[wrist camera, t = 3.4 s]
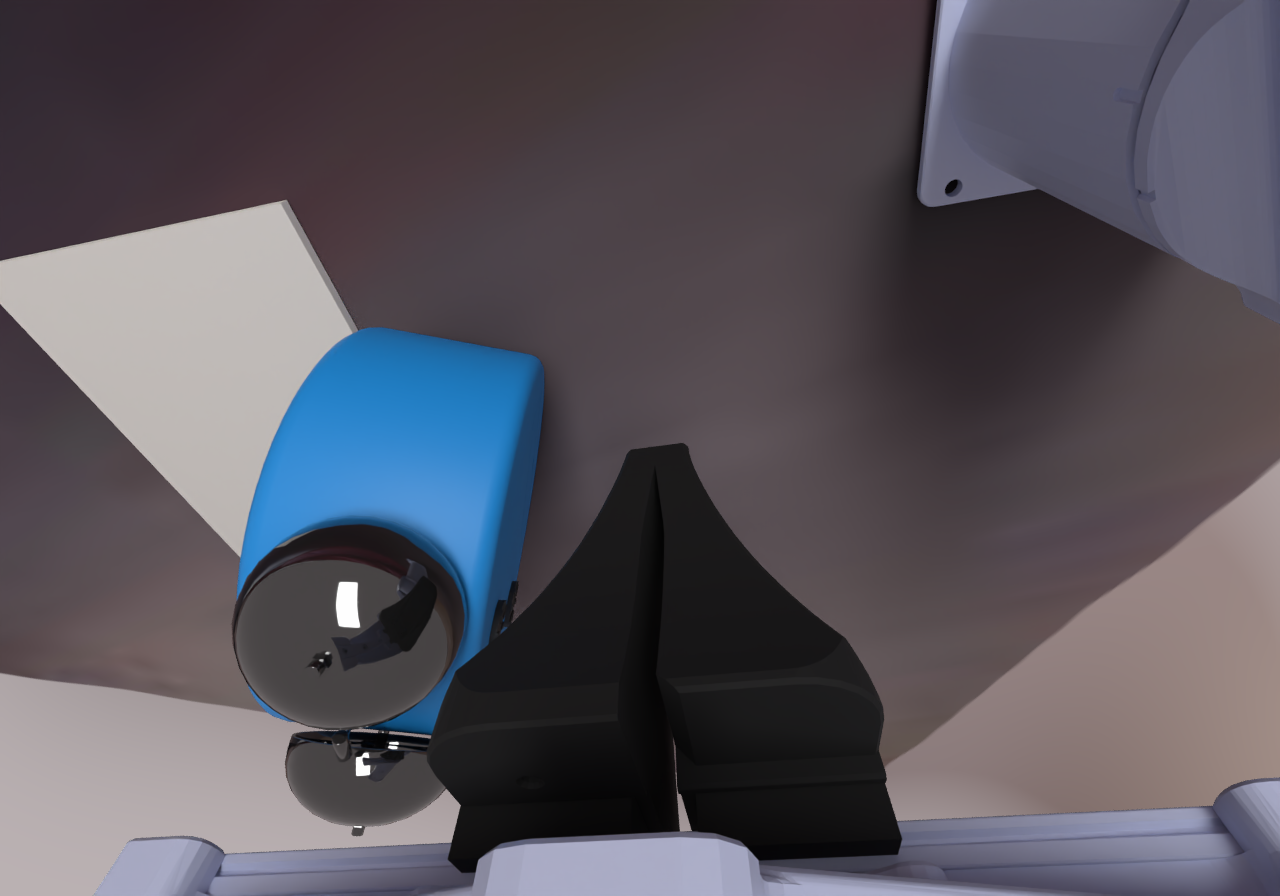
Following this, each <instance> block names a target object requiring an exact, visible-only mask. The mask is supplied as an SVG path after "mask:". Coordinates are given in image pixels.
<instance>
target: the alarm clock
mask: <svg viewBox="0 0 1280 896" xmlns="http://www.w3.org/2000/svg"><path fill="white" fill-rule="evenodd" d="M543 402H544V368H543V366H542V363H541V361H540V360H539V359H538V358H537V357H535V356H533V355H530V354H525V353H520V352H514V351H509V350H503V349H498V348H492V347H487V346H481V345H476V344H470V343H465V342H460V341H454V340H449V339H443V338H438V337H432V336H427V335H421V334H416V333H410V332H405V331H399V330H394V329H389V328H383V327H380V328H366V329H362V330H359V331H357V332H355V333H352V334H350V335H349V336H347V337H345V338H343V339H342V340H340V341H339V342H338V343H336V344H335V345H334V346H333V347H332V348H331V349H330V350H329V351H328V352H327V353H326V354H325V355H324V356H323V357H322V358H321V359H320V361H319V362H318V363H317V364H316V365H315V367H314V368H313V369H312V371H311V372H310V373H309V375H308V376H307V378H306V379H305V381H304V382H303V383H302V385H301V386H300V388H299V390H298V391H297V393H296V395H295V396H294V398H293V400H292V401H291V403H290V405H289V407H288V409H287V411H286V413H285V415H284V417H283V419H282V421H281V423H280V425H279V427H278V430H277V432H276V434H275V436H274V438H273V441H272V443H271V446H270V448H269V451H268V454H267V456H266V459H265V462H264V464H263V467H262V470H261V473H260V477H259V480H258V483H257V486H256V489H255V493H254V497H253V500H252V504H251V508H250V511H249V516H248V520H247V525H246V530H245V534H244V540H243V546H242V552H241V558H240V566H239V575H238V585H237V601H236V604H235V609H234V614H233V619H232V644H233V648H234V652H235V655H236V659H237V663H238V666H239V669H240V671H241V673H242V675H243V677H244V679H245V681H246V683H247V684H248V687H249V689H250V691H251V693H252V695H253V696H254V698H255V699H256V700H257V702H258V703H259V704H260V705H261V706H262V707H263V709H264V710H265V711H266V712H268V713H269V714H271V715H272V716H274V717H277V718H280V719H283V720H286V721H289V722H297V723H300V724H303V725H306V726H308V727H314V728H319V729H325V730H339V731H310V732H299V733H295V734H293V735H292V736H291V740H290V743H289V746H288V750H287V755H286V760H285V768H286V778H287V781H288V783H289V786H290V789H291V791H292V792H293V794H294V795H295V797H296V798H297V799H298V801H299V802H300V803H301V804H302V805H303V806H304V807H305V808H306V809H308V810H309V811H310V812H311V813H312V814H314V815H316V816H318V817H320V818H322V819H324V820H327V821H329V822H331V823H335V824H339V825H346V826H353V830H352V835H353V836H362V835H363V832H364V829H365V827H367V826H381V825H387V824H391V823H394V822H397V821H400V820H403V819H406V818H408V817H410V816H412V815H413V814H416V813H417V812H419V811H421V810H423V809H424V808H426V807H427V806H428V805H430V804H431V803H432V802H433V801H435V800H436V799H437V798H438V797H439V796H440V795H441V794H442V793H443V792H444V791H445V789H446V787H445V786H444V785H443V784H442V783H441V782H440V780H439V779H438V778H437V777H436V776H435V774H434V773H433V771H432V769H431V768H430V766H429V764H428V762H427V748H428V745H429V742H430V739H428V738H422V737H413V736H404V735H394V734H389V731H395V732H404V733H415V734H425V735H432V732H433V729H434V726H435V723H436V720H437V717H438V713H439V710H440V707H441V704H442V702H443V699H444V697H445V694H446V692H447V690H448V687H449V685H450V683H451V681H452V678H453V676H454V673H455V671H456V670H457V669H459V668H460V667H461V666H463V665H464V664H465V663H466V662H468V661H469V660H470V659H471V658H472V657H474V656H475V655H476V654H477V653H479V652H480V651H481V650H482V649H483V648H485V647H486V646H487V645H488V644H490V643H491V642H492V641H493V640H494V639H496V638H497V637H498V636H499V635H500V634H501V633H502V632H503V631H505V630H506V629H507V628H508V627H509V626H510V625H511V621H512V619H513V613H514V610H513V607H514V604H516V598H515V596H516V595H517V590H518V581H517V576H518V571H519V565H520V560H521V555H522V549H523V544H524V538H525V532H526V526H527V520H528V515H529V508H530V502H531V496H532V490H533V483H534V477H535V470H536V463H537V456H538V448H539V440H540V432H541V423H542V414H543ZM359 728H363V729H373V730H379V731H378V733H368V732H350V731H351V730H352V729H359ZM345 730H347V731H345Z"/></svg>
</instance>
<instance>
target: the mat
mask: <svg viewBox="0 0 1280 896" xmlns="http://www.w3.org/2000/svg"><path fill="white" fill-rule="evenodd" d="M0 304H1V305H2V306H3V307H4V308H5V309H6V310H7V312H8V313H9V314H10V315H11V316H12V317H13V318H14V319H15V320H16V321H17V322H18V323H19V324H20V325H21V326H22V327H23V328H24V329H25V331H26V332H27V333H28V334H29V335H30V336H31V337H32V338H33V339H34V340H35V341H36V342H37V343H38V344H39V345H40V346H41V347H42V348H43V350H44V351H45V352H46V353H47V354H48V355H49V356H50V357H51V358H52V359H53V360H54V361H55V362H56V363H57V364H58V365H59V366H60V368H61V369H62V370H63V371H64V372H65V373H66V374H67V375H68V376H69V377H70V378H71V379H72V380H73V381H74V382H75V383H76V384H77V385H78V387H79V388H80V389H81V390H82V391H83V392H84V393H85V394H86V395H87V396H88V397H89V398H90V399H91V400H92V401H93V402H94V403H95V404H96V406H97V407H98V408H99V409H100V410H101V411H102V412H103V413H104V414H105V415H106V416H107V417H108V418H109V419H110V420H111V421H112V422H113V423H114V425H115V426H116V427H117V428H118V429H119V430H120V431H121V432H122V433H123V434H124V435H125V436H126V437H127V438H128V439H129V440H130V441H131V442H132V444H133V445H134V446H135V447H136V448H137V449H138V450H139V451H140V452H141V453H142V454H143V455H144V456H145V457H146V458H147V459H148V460H149V462H150V463H151V464H152V465H153V466H154V467H155V468H156V469H157V470H158V471H159V472H160V473H161V474H162V475H163V476H164V477H165V478H166V479H167V481H168V482H169V483H170V484H171V485H172V486H173V487H174V488H175V489H176V490H177V491H178V492H179V493H180V494H181V495H182V496H183V497H184V498H185V500H186V501H187V502H188V503H189V504H190V505H191V506H192V507H193V508H194V509H195V510H196V511H197V512H198V513H199V514H200V515H201V516H202V517H203V519H204V520H205V521H206V522H207V523H208V524H209V525H210V526H211V527H212V528H213V529H214V530H215V531H216V532H217V533H218V534H219V535H220V537H221V538H222V539H223V540H224V541H225V542H226V543H227V544H228V545H229V546H230V547H231V548H232V549H233V550H234V551H235V552H236V553H237V554H238V556H239V557H240V558H241V552H242V546H243V540H244V534H245V530H246V525H247V520H248V516H249V511H250V508H251V504H252V500H253V497H254V493H255V489H256V486H257V483H258V480H259V477H260V473H261V470H262V467H263V464H264V462H265V459H266V456H267V454H268V451H269V448H270V446H271V443H272V441H273V438H274V436H275V434H276V432H277V430H278V427H279V425H280V423H281V421H282V419H283V417H284V415H285V413H286V411H287V409H288V407H289V405H290V403H291V401H292V400H293V398H294V396H295V395H296V393H297V391H298V390H299V388H300V386H301V385H302V383H303V382H304V381H305V379H306V378H307V376H308V375H309V373H310V372H311V371H312V369H313V368H314V367H315V365H316V364H317V363H318V362H319V361H320V359H321V358H322V357H323V356H324V355H325V354H326V353H327V352H328V351H329V350H330V349H331V348H332V347H333V346H334V345H335V344H336V343H338V342H339V341H340V340H342V339H343V338H345V337H347V336H349V335H350V334H352V333H355V332H357V331H358V329H357V327H356V326H355V324H354V322H353V320H352V318H351V316H350V315H349V313H348V311H347V309H346V307H345V305H344V304H343V302H342V300H341V298H340V296H339V295H338V293H337V291H336V289H335V287H334V285H333V284H332V282H331V280H330V278H329V276H328V274H327V273H326V271H325V269H324V267H323V265H322V263H321V262H320V260H319V258H318V256H317V254H316V253H315V251H314V249H313V247H312V245H311V243H310V242H309V240H308V238H307V236H306V234H305V232H304V231H303V229H302V227H301V225H300V223H299V221H298V220H297V218H296V216H295V214H294V212H293V211H292V209H291V207H290V205H289V203H288V201H287V200H285V201H280V202H275V203H271V204H266V205H261V206H257V207H252V208H247V209H242V210H238V211H233V212H228V213H224V214H219V215H214V216H210V217H205V218H200V219H195V220H191V221H186V222H181V223H177V224H172V225H167V226H163V227H158V228H153V229H148V230H144V231H139V232H134V233H130V234H125V235H120V236H116V237H111V238H106V239H101V240H97V241H92V242H87V243H83V244H78V245H73V246H68V247H64V248H59V249H54V250H50V251H45V252H40V253H36V254H31V255H26V256H21V257H17V258H12V259H7V260H3V261H0Z"/></svg>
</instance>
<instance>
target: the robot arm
mask: <svg viewBox="0 0 1280 896" xmlns="http://www.w3.org/2000/svg"><path fill="white" fill-rule="evenodd" d="M954 179H957V181H958V184H957V187H956V189H955V190H954V191H953V192H951V193H949V194H945V188H946V185H947V184H948V183H949V182H950V181H952V180H954ZM1035 189H1040V190H1042V191H1044V192H1046V193H1048V194H1050V195H1052V196H1054V197H1056V198H1058V199H1060V200H1062V201H1064V202H1066V203H1068V204H1070V205H1072V206H1074V207H1076V208H1078V209H1080V210H1082V211H1084V212H1086V213H1088V214H1090V215H1092V216H1094V217H1096V218H1098V219H1100V220H1102V221H1104V222H1106V223H1108V224H1110V225H1112V226H1114V227H1116V228H1118V229H1120V230H1122V231H1124V232H1126V233H1128V234H1130V235H1132V236H1134V237H1136V238H1138V239H1140V240H1142V241H1144V242H1146V243H1148V244H1150V245H1152V246H1154V247H1156V248H1158V249H1160V250H1162V251H1164V252H1166V253H1168V254H1170V255H1173V256H1175V257H1178V258H1180V259H1182V260H1183V261H1185V262H1187V263H1189V264H1190V265H1192V266H1194V267H1196V268H1198V269H1200V270H1202V271H1204V272H1206V273H1208V274H1210V275H1213V276H1215V277H1217V278H1220V279H1222V280H1224V281H1227V282H1230V283H1232V284H1235V285H1236V286H1237V287H1238V289H1239V290H1240V292H1241V295H1242V299H1243V303H1244V305H1245V307H1247V308H1249V309H1251V310H1253V311H1255V312H1257V313H1259V314H1261V315H1263V316H1265V317H1267V318H1269V319H1270V320H1272V321H1274V322H1276V323H1278V324H1280V0H937V6H936V16H935V25H934V35H933V44H932V54H931V63H930V73H929V82H928V92H927V101H926V111H925V120H924V130H923V139H922V149H921V158H920V168H919V177H918V187H917V197H918V199H919V200H920V202H921V203H923V204H924V205H926V206H928V207H937V206H942V205H948V204H954V203H960V202H966V201H971V200H977V199H983V198H989V197H994V196H1000V195H1006V194H1012V193H1017V192H1023V191H1029V190H1035ZM883 722H884V713H883V706H882V703H881V701H880V698H879V695H878V693H877V691H876V689H875V687H874V685H873V683H872V681H871V679H870V677H869V675H868V673H867V671H866V670H865V668H864V666H863V665H862V663H861V661H860V660H859V658H858V656H857V655H856V653H855V652H854V650H853V649H852V647H851V646H850V644H849V643H848V641H847V640H846V638H844V637H843V636H842V635H840V634H839V633H838V632H836V631H835V630H834V629H832V628H831V627H830V626H828V625H827V624H826V623H824V622H823V621H822V620H821V619H819V618H818V617H817V616H816V615H814V614H813V613H812V612H811V611H809V610H808V609H807V608H806V607H805V606H804V605H802V604H801V603H800V602H799V601H798V600H797V599H795V598H794V597H793V596H792V595H791V594H790V593H789V592H788V591H787V590H786V589H785V588H784V587H782V586H781V585H780V584H779V583H778V582H777V581H776V580H775V579H774V578H773V577H772V576H771V575H770V574H769V573H768V572H767V571H766V570H765V569H764V568H763V567H762V566H761V565H760V564H759V563H758V561H757V560H756V559H755V558H754V557H753V556H752V555H751V554H750V553H749V551H748V550H747V549H746V548H745V547H744V545H743V544H742V543H741V542H740V541H739V539H738V538H737V537H736V536H735V534H734V533H733V532H732V530H731V529H730V528H729V526H728V525H727V523H726V522H725V520H724V519H723V518H722V516H721V515H720V513H719V512H718V510H717V509H716V507H715V506H714V504H713V502H712V501H711V499H710V497H709V496H708V494H707V492H706V490H705V489H704V487H703V485H702V483H701V481H700V479H699V477H698V475H697V473H696V471H695V469H694V466H693V464H692V461H691V458H690V454H689V449H688V446H686V445H685V444H683V443H679V444H672V445H664V446H656V447H648V448H640V449H632V450H630V451H629V452H628V454H627V455H626V458H625V461H624V463H623V466H622V468H621V471H620V473H619V475H618V477H617V479H616V482H615V484H614V486H613V488H612V490H611V492H610V494H609V496H608V497H607V499H606V501H605V503H604V505H603V507H602V509H601V511H600V512H599V514H598V516H597V518H596V519H595V521H594V522H593V524H592V526H591V527H590V529H589V531H588V532H587V534H586V535H585V537H584V539H583V540H582V542H581V543H580V545H579V546H578V548H577V549H576V550H575V552H574V553H573V555H572V556H571V557H570V559H569V560H568V561H567V563H566V564H565V565H564V567H563V568H562V569H561V571H560V572H559V573H558V574H557V575H556V577H555V578H554V579H553V580H552V581H551V583H550V584H549V585H548V586H547V587H546V588H545V590H544V591H543V592H542V593H541V594H540V595H539V596H538V598H537V599H536V600H535V601H534V602H533V603H532V604H531V605H530V606H529V607H528V608H527V609H526V610H525V611H524V612H523V613H522V614H521V615H520V616H519V617H518V618H517V619H516V620H515V621H514V622H513V623H512V624H511V625H510V626H509V627H508V628H507V629H506V630H505V631H503V632H502V633H501V634H500V635H499V636H498V637H497V638H496V639H494V640H493V641H492V642H491V643H490V644H488V645H487V646H486V647H485V648H483V649H482V650H481V651H480V652H479V653H477V654H476V655H475V656H474V657H472V658H471V659H470V660H469V661H468V662H466V663H465V664H464V665H463V666H461V667H460V668H459V669H457V670H456V671H455V673H454V676H453V678H452V681H451V683H450V685H449V687H448V690H447V692H446V694H445V697H444V699H443V702H442V704H441V707H440V710H439V713H438V717H437V720H436V723H435V726H434V729H433V732H432V736H431V739H430V742H429V745H428V748H427V762H428V764H429V766H430V768H431V769H432V771H433V773H434V774H435V776H436V777H437V778H438V779H439V780H440V782H441V783H442V784H443V785H444V786H445V787H446V789H447V790H448V791H449V792H450V793H451V794H452V796H453V797H454V798H455V799H456V800H457V801H458V802H459V804H460V805H461V807H460V811H459V815H458V819H457V823H456V827H455V831H454V835H453V839H452V843H438V844H417V845H398V846H376V847H355V848H335V849H314V850H296V851H295V850H293V851H274V852H252V853H232V854H224V852H223V850H222V849H221V848H219V847H218V846H217V845H215V844H213V843H212V842H210V841H207V840H205V839H202V838H198V837H193V836H171V837H152V838H136V839H133V840H131V841H129V842H128V843H127V844H126V846H125V847H124V849H123V850H122V852H121V853H120V855H119V856H118V858H117V860H116V861H115V863H114V864H113V866H112V867H111V869H110V871H109V872H108V873H107V875H106V877H105V878H104V880H103V881H102V883H101V884H100V886H99V887H98V889H97V891H96V892H95V894H94V895H93V896H1280V778H1261V779H1254V780H1247V781H1243V782H1240V783H1237V784H1234V785H1231V786H1230V787H1228V788H1227V789H1225V790H1223V791H1222V792H1221V793H1220V794H1219V796H1218V797H1217V798H1216V800H1215V802H1214V804H1213V806H1201V807H1200V806H1199V807H1178V808H1158V809H1137V810H1118V811H1096V812H1075V813H1055V814H1035V815H1013V816H993V817H974V818H973V817H972V818H952V819H931V820H912V821H897V820H896V817H895V814H894V811H893V808H892V804H891V801H890V798H889V795H888V792H887V788H886V785H885V783H886V780H887V778H886V772H885V769H884V766H883V762H882V759H881V756H880V753H879V745H880V739H881V733H882V728H883ZM673 738H674V742H675V745H676V768H677V787H678V793H679V794H681V796H682V799H683V802H684V806H685V809H686V813H687V816H688V819H689V823H690V826H691V830H692V831H685V832H680V829H679V815H678V803H677V788H676V774H675V760H674V745H673Z"/></svg>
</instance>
